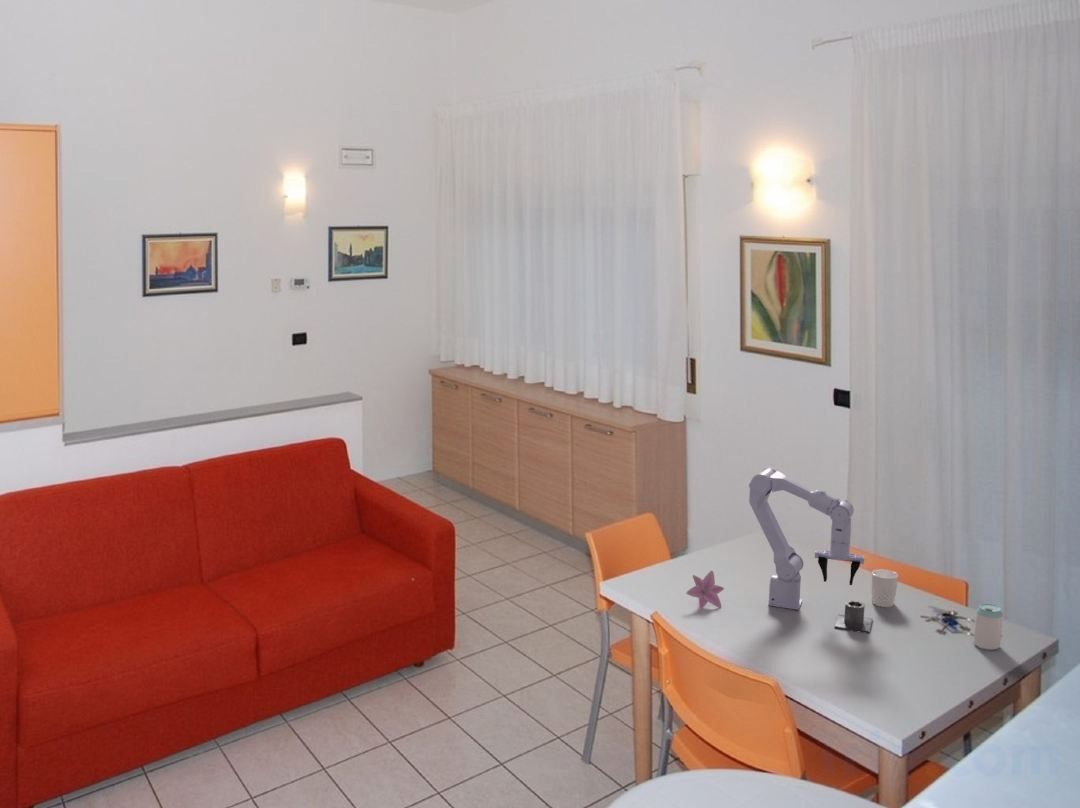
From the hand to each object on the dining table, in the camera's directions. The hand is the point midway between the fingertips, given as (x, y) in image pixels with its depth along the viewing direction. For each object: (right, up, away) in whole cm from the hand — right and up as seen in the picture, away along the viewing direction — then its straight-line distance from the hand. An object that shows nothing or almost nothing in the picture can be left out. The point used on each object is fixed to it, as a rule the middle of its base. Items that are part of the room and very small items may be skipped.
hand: (838, 582), depth 312 cm
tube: (+3, -11, -6) cm, 13 cm away
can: (+37, -15, -20) cm, 45 cm away
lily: (-40, -9, +10) cm, 42 cm away
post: (+3, -12, -5) cm, 13 cm away
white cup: (+17, -9, +10) cm, 22 cm away
